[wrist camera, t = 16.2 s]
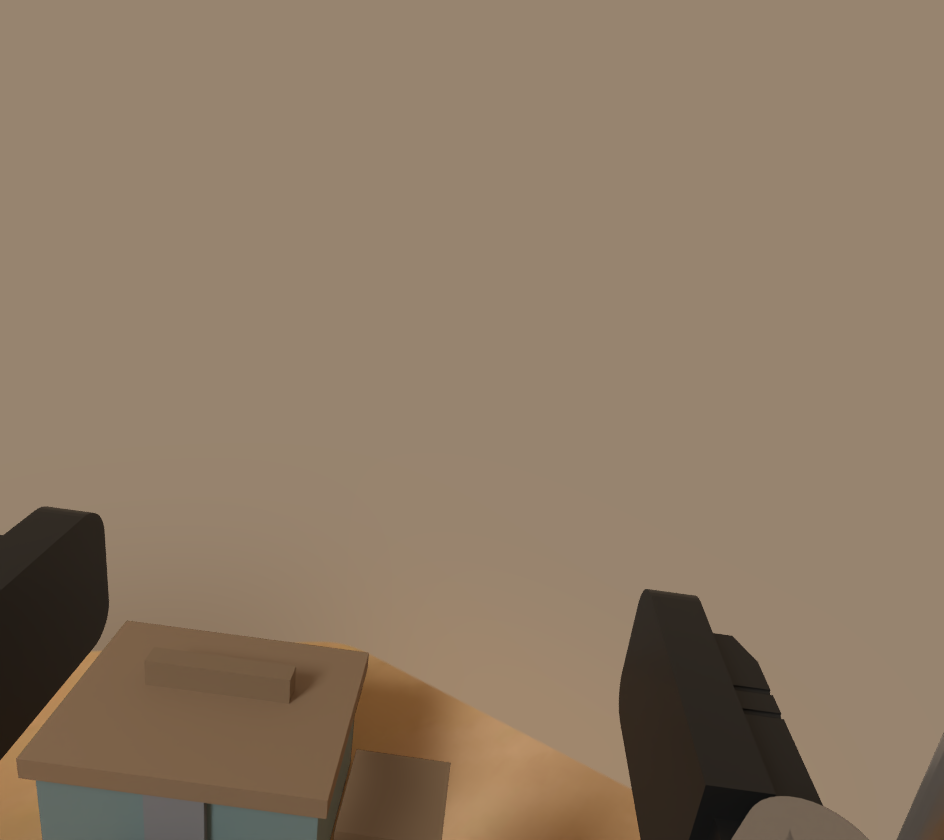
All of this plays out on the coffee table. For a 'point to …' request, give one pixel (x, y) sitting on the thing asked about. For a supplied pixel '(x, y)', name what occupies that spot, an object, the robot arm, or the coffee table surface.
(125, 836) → the toolbox
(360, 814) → the mottled beige block
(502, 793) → the coffee table surface
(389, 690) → the coffee table surface
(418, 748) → the coffee table surface
